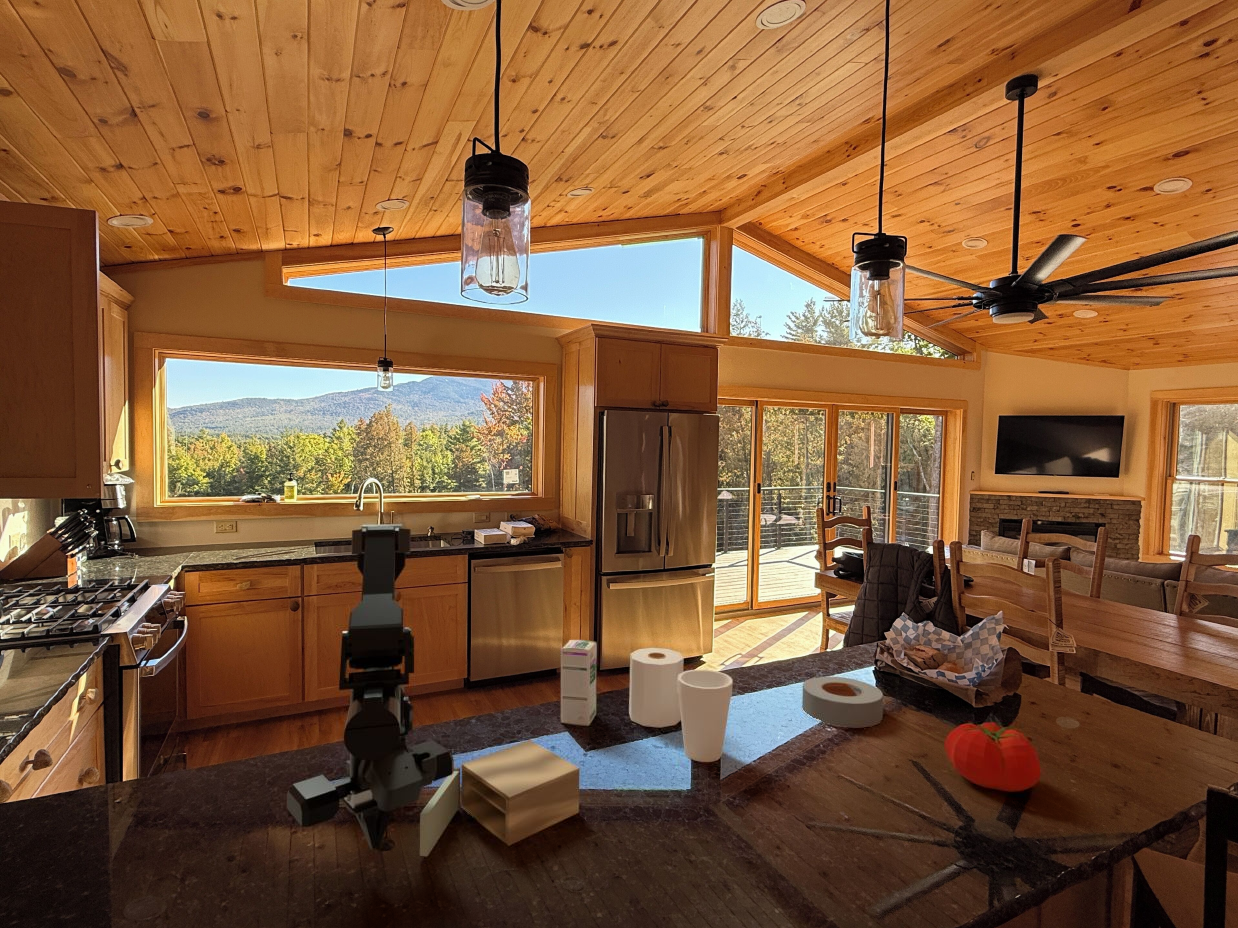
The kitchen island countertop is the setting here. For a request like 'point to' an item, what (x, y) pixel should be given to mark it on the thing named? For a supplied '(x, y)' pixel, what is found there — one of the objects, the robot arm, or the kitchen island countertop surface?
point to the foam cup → (704, 712)
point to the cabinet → (519, 790)
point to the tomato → (993, 757)
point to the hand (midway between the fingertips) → (374, 847)
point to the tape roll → (842, 701)
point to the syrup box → (578, 682)
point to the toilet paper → (655, 687)
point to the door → (439, 812)
